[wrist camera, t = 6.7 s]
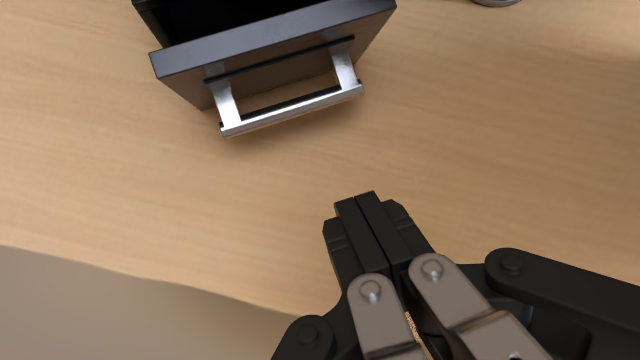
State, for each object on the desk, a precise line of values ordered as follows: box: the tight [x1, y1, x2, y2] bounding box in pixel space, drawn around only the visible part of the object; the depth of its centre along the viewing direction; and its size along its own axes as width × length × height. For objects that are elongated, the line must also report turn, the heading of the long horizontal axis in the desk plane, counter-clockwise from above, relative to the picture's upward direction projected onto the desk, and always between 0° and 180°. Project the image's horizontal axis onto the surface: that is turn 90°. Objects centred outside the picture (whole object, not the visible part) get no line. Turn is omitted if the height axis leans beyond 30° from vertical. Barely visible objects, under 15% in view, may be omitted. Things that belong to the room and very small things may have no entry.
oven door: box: [148, 0, 397, 140], centre depth 29 cm, size 5×15×13 cm, turn 110°
